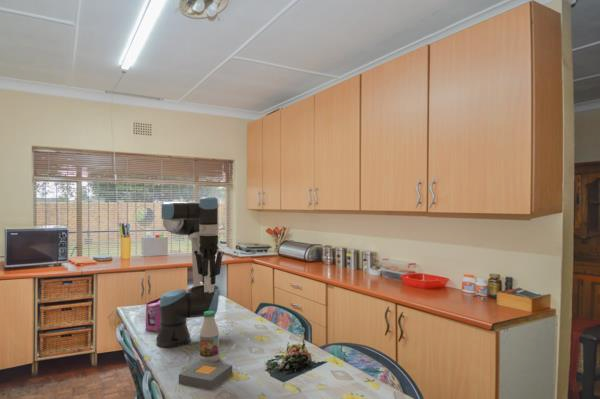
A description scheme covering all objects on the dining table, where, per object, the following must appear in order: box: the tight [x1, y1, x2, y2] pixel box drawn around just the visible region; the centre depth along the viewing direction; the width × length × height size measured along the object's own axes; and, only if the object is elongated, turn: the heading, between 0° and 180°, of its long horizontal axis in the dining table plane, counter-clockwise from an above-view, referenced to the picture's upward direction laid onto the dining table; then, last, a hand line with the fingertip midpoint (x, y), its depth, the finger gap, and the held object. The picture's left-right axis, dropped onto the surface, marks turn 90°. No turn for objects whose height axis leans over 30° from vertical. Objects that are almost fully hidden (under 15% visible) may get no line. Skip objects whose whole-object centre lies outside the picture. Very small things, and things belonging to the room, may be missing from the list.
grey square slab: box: [178, 359, 233, 390], centre depth 149 cm, size 14×14×3 cm
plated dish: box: [262, 337, 328, 383], centre depth 163 cm, size 35×28×7 cm
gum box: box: [145, 297, 161, 332], centre depth 213 cm, size 24×8×14 cm, turn 164°
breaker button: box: [195, 365, 217, 375], centre depth 149 cm, size 6×6×2 cm
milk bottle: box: [199, 311, 220, 362], centre depth 165 cm, size 8×8×20 cm
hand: (209, 291), depth 165 cm, fingers open, 1 cm apart
